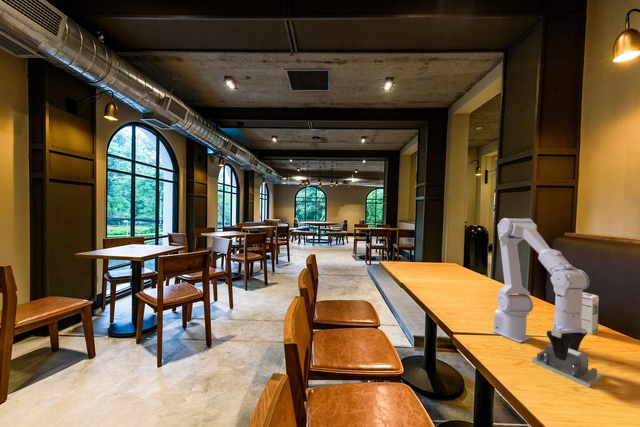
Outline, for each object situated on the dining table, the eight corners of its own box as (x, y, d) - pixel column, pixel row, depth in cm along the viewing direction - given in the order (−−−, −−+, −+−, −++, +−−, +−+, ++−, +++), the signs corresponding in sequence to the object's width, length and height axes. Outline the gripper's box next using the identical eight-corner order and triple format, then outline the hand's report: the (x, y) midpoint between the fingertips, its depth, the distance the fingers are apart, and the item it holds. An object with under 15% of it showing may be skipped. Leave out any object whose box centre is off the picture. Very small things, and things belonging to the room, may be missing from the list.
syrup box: (592, 335, 100) (594, 297, 99) (571, 328, 105) (573, 292, 105) (598, 332, 102) (599, 295, 102) (577, 325, 108) (579, 291, 107)
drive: (545, 360, 80) (545, 344, 80) (551, 357, 82) (552, 341, 82) (580, 376, 73) (581, 358, 73) (586, 371, 75) (587, 354, 75)
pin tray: (531, 361, 81) (532, 349, 81) (545, 354, 85) (546, 342, 85) (589, 387, 70) (590, 373, 70) (602, 378, 74) (602, 364, 74)
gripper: (575, 320, 70) (573, 369, 70) (596, 311, 77) (594, 356, 77) (543, 310, 76) (541, 356, 77) (565, 303, 83) (563, 345, 83)
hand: (565, 355), depth 77 cm, fingers open, 7 cm apart
